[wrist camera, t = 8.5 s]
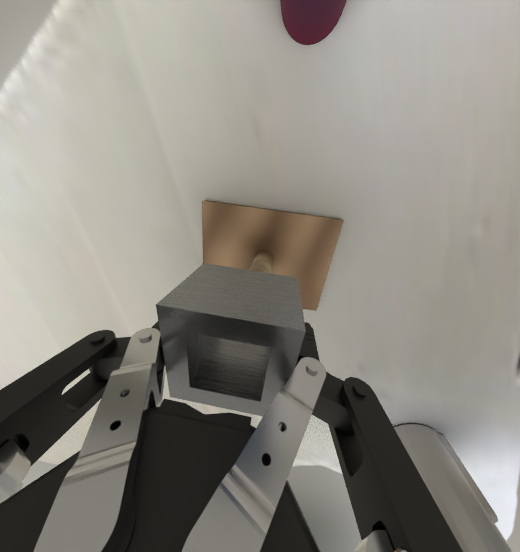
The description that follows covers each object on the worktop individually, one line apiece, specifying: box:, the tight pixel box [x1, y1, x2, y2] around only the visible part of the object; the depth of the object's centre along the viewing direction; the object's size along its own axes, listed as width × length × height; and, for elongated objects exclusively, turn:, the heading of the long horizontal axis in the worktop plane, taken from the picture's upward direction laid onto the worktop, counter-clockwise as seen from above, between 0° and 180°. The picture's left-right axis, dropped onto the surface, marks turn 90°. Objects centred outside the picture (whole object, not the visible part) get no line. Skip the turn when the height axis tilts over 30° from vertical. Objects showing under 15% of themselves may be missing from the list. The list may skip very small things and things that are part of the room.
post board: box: [202, 201, 344, 311], centre depth 21 cm, size 16×12×7 cm
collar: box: [156, 263, 306, 416], centre depth 11 cm, size 6×6×5 cm
